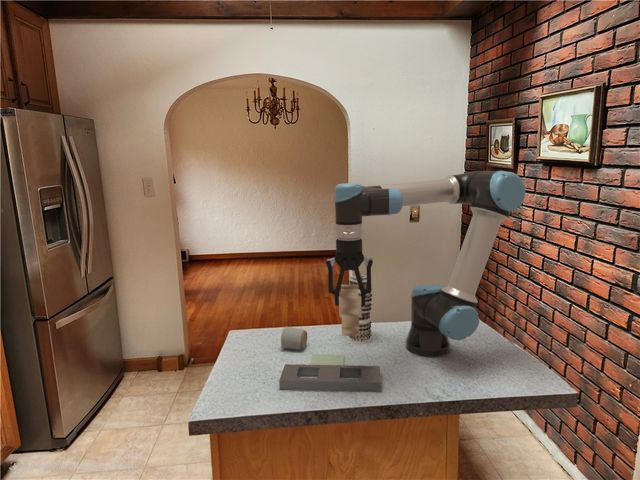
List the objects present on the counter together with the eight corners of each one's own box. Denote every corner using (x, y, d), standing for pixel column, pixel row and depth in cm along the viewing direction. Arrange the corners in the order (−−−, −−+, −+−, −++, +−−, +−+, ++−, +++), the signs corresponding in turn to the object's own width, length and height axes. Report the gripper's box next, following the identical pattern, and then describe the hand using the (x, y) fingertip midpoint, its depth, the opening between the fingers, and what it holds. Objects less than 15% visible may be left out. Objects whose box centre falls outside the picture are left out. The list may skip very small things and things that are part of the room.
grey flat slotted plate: (379, 374, 130) (379, 366, 130) (381, 392, 121) (381, 382, 120) (285, 372, 133) (284, 364, 133) (279, 389, 123) (279, 380, 123)
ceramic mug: (302, 353, 146) (302, 332, 145) (280, 351, 148) (280, 331, 147) (310, 341, 157) (310, 322, 155) (290, 339, 159) (289, 320, 157)
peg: (359, 329, 126) (358, 284, 123) (359, 335, 121) (358, 289, 118) (342, 329, 126) (341, 284, 123) (341, 335, 121) (340, 289, 119)
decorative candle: (347, 333, 162) (346, 271, 158) (371, 333, 162) (371, 271, 157) (347, 343, 153) (346, 278, 149) (373, 343, 153) (373, 278, 148)
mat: (344, 355, 144) (344, 354, 144) (343, 371, 133) (343, 370, 133) (312, 355, 145) (312, 354, 145) (309, 371, 134) (309, 369, 134)
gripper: (316, 241, 115) (318, 320, 120) (381, 240, 114) (382, 320, 118) (318, 236, 123) (321, 311, 127) (380, 235, 121) (380, 311, 125)
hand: (350, 315), depth 122 cm, fingers closed on peg, 5 cm apart
